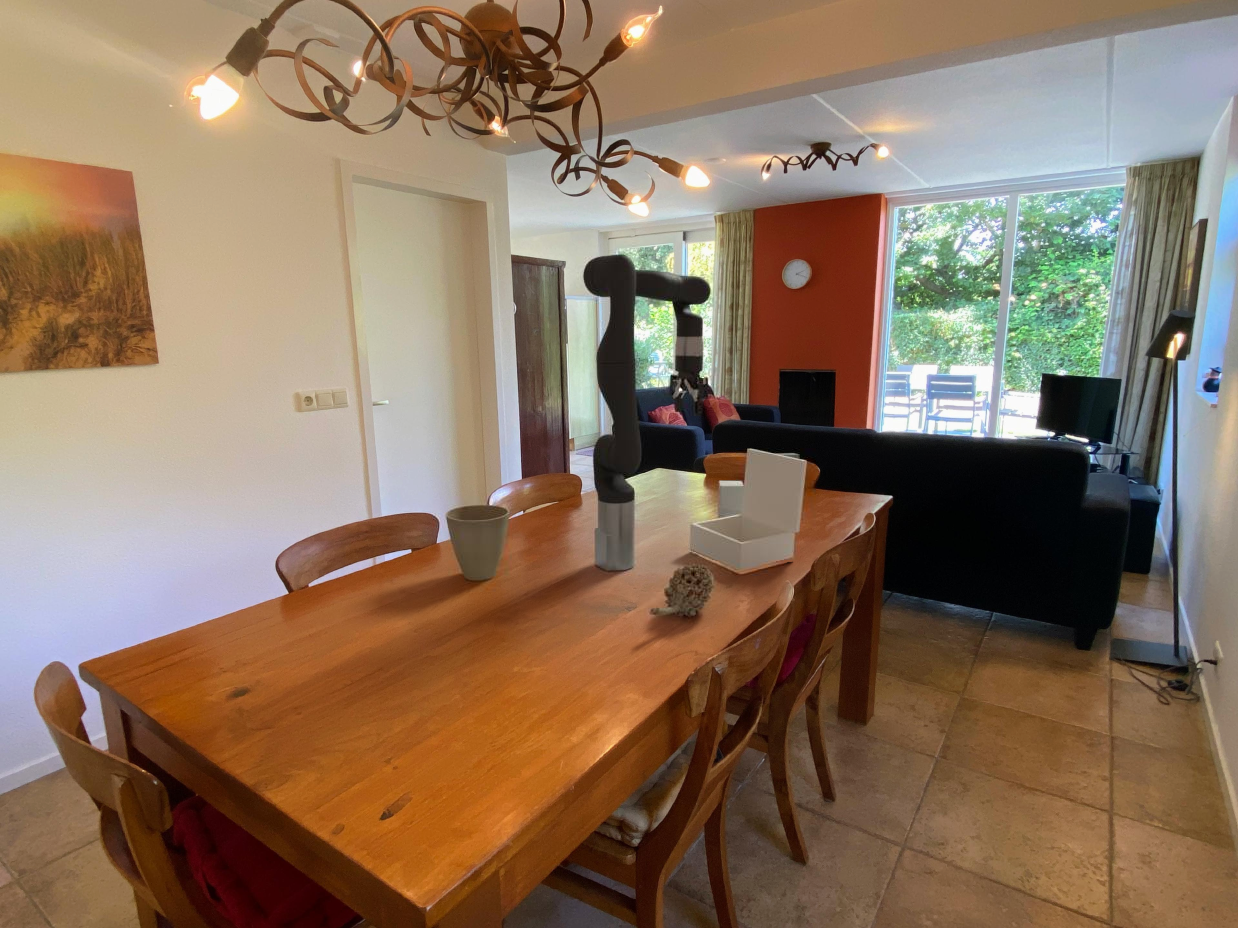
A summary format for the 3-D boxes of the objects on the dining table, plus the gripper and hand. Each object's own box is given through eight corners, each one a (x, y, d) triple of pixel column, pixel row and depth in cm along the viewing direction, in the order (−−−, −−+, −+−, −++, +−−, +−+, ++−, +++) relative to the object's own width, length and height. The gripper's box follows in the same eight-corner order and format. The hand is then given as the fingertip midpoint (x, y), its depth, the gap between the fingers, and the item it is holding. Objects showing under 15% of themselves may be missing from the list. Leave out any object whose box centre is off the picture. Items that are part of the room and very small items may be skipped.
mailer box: (740, 575, 159) (741, 543, 158) (689, 552, 176) (690, 523, 174) (793, 561, 168) (794, 532, 167) (740, 541, 185) (741, 513, 184)
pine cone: (681, 595, 147) (682, 553, 145) (721, 603, 142) (723, 560, 140) (635, 633, 128) (635, 585, 126) (679, 645, 124) (680, 595, 122)
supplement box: (741, 519, 207) (742, 480, 204) (743, 526, 200) (744, 485, 197) (717, 518, 208) (718, 480, 205) (718, 525, 200) (719, 485, 198)
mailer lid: (803, 460, 164) (826, 460, 168) (747, 448, 181) (769, 448, 185) (795, 532, 167) (817, 529, 171) (741, 513, 184) (762, 511, 188)
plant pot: (497, 589, 151) (495, 522, 147) (437, 584, 153) (434, 518, 150) (520, 566, 165) (518, 505, 162) (465, 562, 168) (462, 502, 165)
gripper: (662, 353, 181) (661, 411, 184) (694, 355, 169) (693, 417, 172) (684, 353, 185) (683, 410, 188) (716, 354, 173) (715, 415, 176)
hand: (687, 413), depth 180 cm, fingers open, 8 cm apart
